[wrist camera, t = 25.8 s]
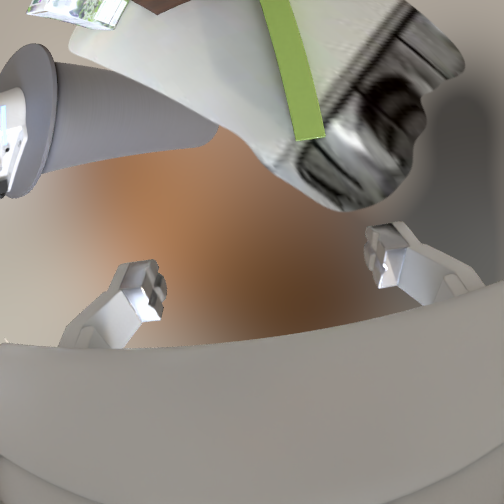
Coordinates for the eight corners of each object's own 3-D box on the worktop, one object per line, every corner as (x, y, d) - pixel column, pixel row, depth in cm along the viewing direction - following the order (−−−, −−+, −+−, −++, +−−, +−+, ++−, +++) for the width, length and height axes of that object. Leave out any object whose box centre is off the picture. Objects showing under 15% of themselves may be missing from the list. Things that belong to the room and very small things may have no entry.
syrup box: (107, 0, 24) (42, -23, 11) (131, -1, 24) (64, -31, 11) (92, 29, 26) (23, 14, 13) (115, 30, 26) (42, 10, 13)
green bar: (324, 137, 28) (325, 136, 25) (297, 141, 28) (295, 140, 26) (275, -31, 20) (271, -43, 17) (252, -26, 20) (246, -37, 18)
